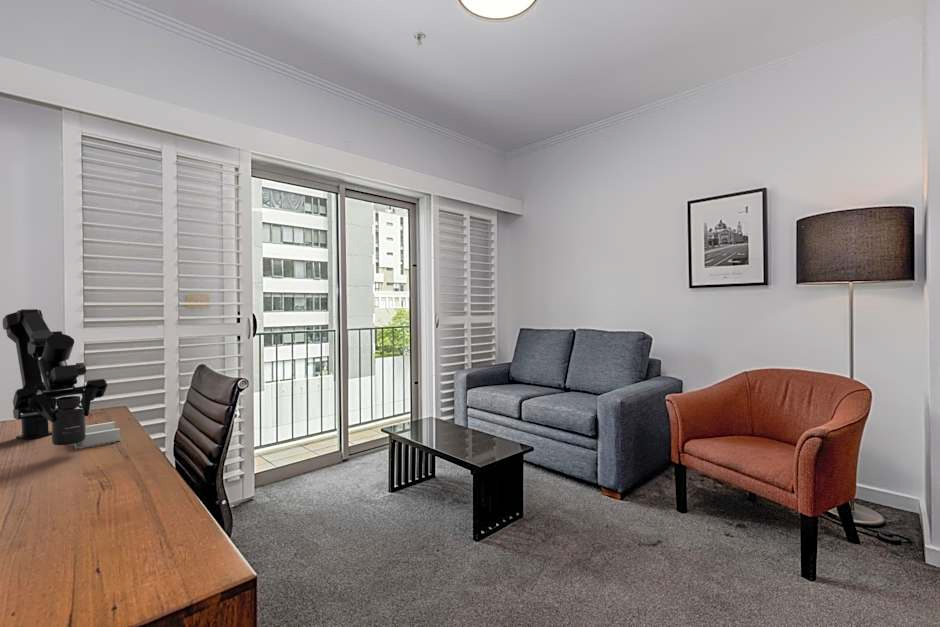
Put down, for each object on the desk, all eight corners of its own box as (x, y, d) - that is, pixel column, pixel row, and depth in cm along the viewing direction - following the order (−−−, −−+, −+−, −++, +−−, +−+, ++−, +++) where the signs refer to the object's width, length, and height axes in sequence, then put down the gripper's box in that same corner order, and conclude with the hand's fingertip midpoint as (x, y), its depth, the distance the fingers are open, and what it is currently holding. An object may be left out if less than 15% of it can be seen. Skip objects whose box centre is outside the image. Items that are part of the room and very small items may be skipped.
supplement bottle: (70, 446, 119) (68, 400, 119) (44, 446, 119) (43, 400, 119) (92, 438, 126) (91, 394, 125) (68, 437, 126) (66, 394, 126)
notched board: (75, 449, 127) (75, 436, 127) (72, 440, 136) (71, 428, 136) (120, 441, 134) (119, 429, 134) (114, 432, 143) (114, 421, 143)
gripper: (14, 358, 116) (28, 407, 110) (103, 350, 132) (120, 393, 126) (7, 385, 121) (20, 433, 115) (94, 375, 136) (110, 417, 131)
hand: (70, 418), depth 122 cm, fingers closed on supplement bottle, 7 cm apart
